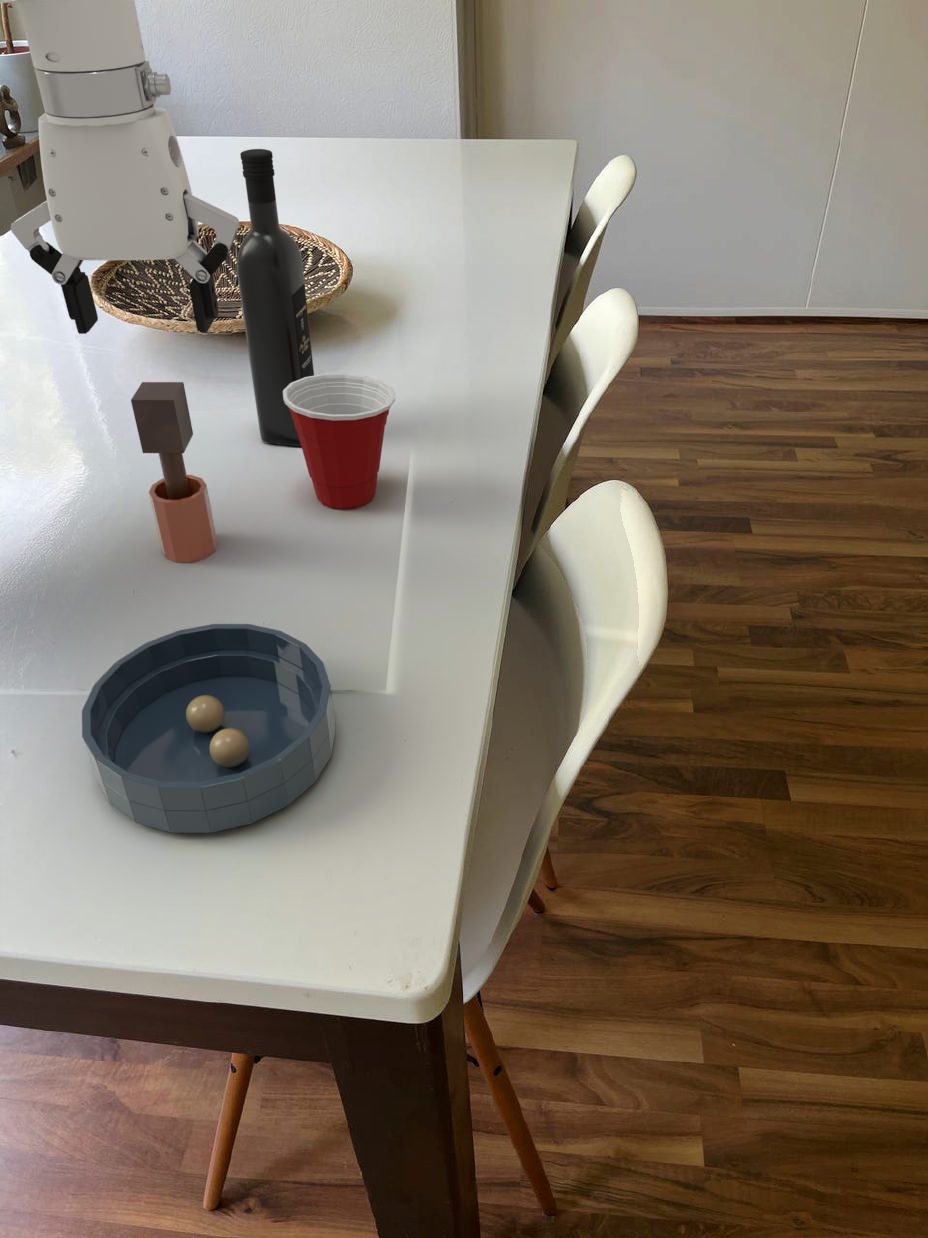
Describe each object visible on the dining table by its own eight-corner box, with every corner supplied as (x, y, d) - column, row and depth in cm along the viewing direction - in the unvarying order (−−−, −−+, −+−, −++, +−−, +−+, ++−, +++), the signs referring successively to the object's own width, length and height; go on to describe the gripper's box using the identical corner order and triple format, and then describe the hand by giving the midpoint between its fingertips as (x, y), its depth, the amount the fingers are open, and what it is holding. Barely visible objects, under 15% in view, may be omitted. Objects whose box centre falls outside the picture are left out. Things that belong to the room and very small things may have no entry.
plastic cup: (422, 498, 102) (418, 389, 94) (340, 538, 96) (329, 426, 88) (355, 462, 108) (347, 357, 101) (274, 498, 102) (259, 389, 95)
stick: (166, 558, 92) (130, 399, 82) (175, 537, 95) (141, 381, 85) (204, 558, 92) (173, 399, 82) (213, 537, 95) (183, 381, 85)
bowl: (65, 838, 67) (46, 787, 64) (135, 671, 80) (121, 623, 77) (319, 839, 66) (312, 788, 63) (346, 672, 80) (341, 623, 77)
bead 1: (185, 740, 73) (178, 713, 71) (194, 714, 75) (187, 687, 74) (223, 741, 73) (217, 713, 71) (230, 714, 75) (225, 687, 74)
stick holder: (158, 567, 92) (143, 502, 88) (171, 537, 96) (157, 474, 92) (211, 567, 92) (199, 502, 88) (222, 537, 96) (210, 474, 92)
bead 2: (209, 775, 70) (202, 747, 69) (217, 747, 73) (211, 720, 71) (248, 775, 70) (242, 748, 69) (255, 747, 72) (250, 720, 71)
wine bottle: (322, 426, 115) (294, 146, 96) (306, 449, 110) (273, 160, 92) (276, 421, 116) (239, 143, 97) (258, 444, 111) (216, 157, 93)
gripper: (228, 81, 73) (260, 309, 83) (-4, 84, 73) (57, 311, 84) (206, 102, 67) (244, 344, 77) (-46, 105, 67) (25, 346, 78)
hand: (147, 326), depth 81 cm, fingers open, 9 cm apart
